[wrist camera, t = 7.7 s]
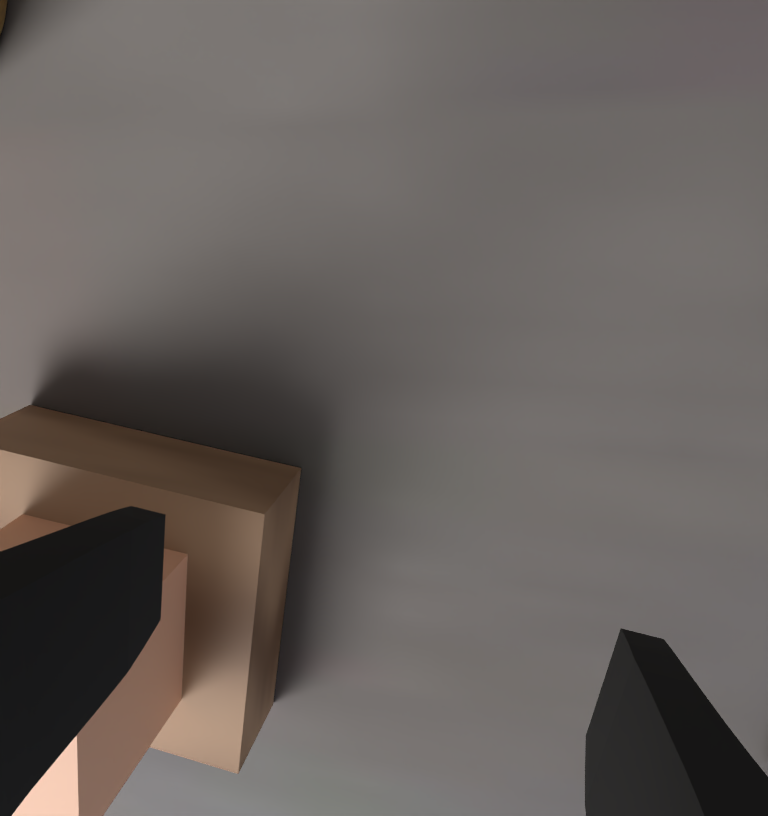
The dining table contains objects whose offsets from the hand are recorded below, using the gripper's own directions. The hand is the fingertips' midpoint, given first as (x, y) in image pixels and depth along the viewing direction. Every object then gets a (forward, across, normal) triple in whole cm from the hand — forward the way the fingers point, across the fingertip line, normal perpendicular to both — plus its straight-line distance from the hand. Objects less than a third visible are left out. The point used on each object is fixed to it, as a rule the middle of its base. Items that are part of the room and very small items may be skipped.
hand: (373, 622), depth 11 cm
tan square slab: (+9, +8, +7) cm, 14 cm away
